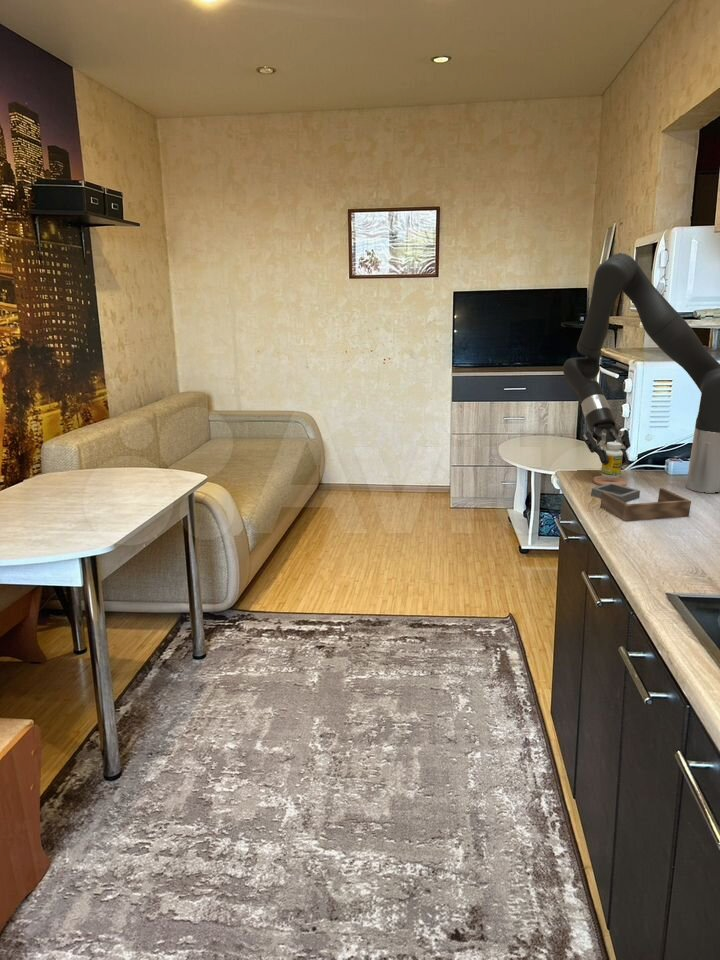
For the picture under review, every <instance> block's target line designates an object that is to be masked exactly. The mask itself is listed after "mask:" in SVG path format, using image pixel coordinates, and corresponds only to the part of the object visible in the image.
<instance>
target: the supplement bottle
mask: <svg viewBox="0 0 720 960" xmlns="http://www.w3.org/2000/svg"><path fill="white" fill-rule="evenodd" d="M605 446H606V449H605V448H604V451H606V454H607V456H608V459H609V463H608V464H607V465H603V463H601V469H600V470H601V471H600V474H601V476H605V477H610V478H617V477H621V473H622V466H623V464H622V458H623V452H622V451H621V450H620V449H621V446H622V444H621V443H618V442H616V441H615V442H607V444H606V445H605Z"/></svg>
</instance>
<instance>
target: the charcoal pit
mask: <svg viewBox="0 0 720 960" xmlns="http://www.w3.org/2000/svg"><path fill="white" fill-rule="evenodd" d="M602 492H606V493H608V494H610V495H612V496H614V497H616V498H618V499H619V500H621V501H623V502H625V503H627V502H630V501H631V502H632V501H634V500H636V499H639V498H640V494H641V490H639V489H635V488H632V487H628V486H621V485H617V484H613V483H608V484H605V485H601V486H599V485H597V486H596V487H592V488H591V492H590V493H591V494H590V496H593V497H595V496H596V498H598V497H599V498H600V499H601V496H602Z"/></svg>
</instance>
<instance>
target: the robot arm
mask: <svg viewBox="0 0 720 960" xmlns="http://www.w3.org/2000/svg"><path fill="white" fill-rule="evenodd" d="M594 274H595V276H594V279H593V286H592V292H591V299H590V303H589V307H588V311H587V315H586V318H585V322H584V323H583V327H582V330H581V333H580V336H579V339H578V341H577V345H576V349H577V352H578V353H579V354H580V355H582V356H584V357H571V358H568V359H566V361H565V362H564V363H563V366H562V367H563V368H562V371H563V372H562V373H563V376H564V377H565V379H566V381H567V383H568V384H569V385H570V387H571V388H572V389H573V391H574V392H575V393H576V395H577V397H578V399H579V403H580V405H581V410H582V414H583V416H584V419H585V423H586V425H587V427H588V430H589V431H588V430H587V431H586V432H585V433H584V434H583V435H582V439H583V441H584V443H585V445H586V446H587V448H588V450H589V452H590V453H592V454H593V453H596V454H597V455H598V457H599V460H600V463H601V464H602V463H603V465H607V464H608V463H609V459H608V456H607V454H606V451H604V450H605V446H606V445H607V442H618V443H621V444H622V446H621V449H620V450H621V451H622V452H623V458H622V465H625V464H627V463H628V460H629V457H628V454H627V451H628V449H629V448H630V447H631V442H630V441H631V440H630V436H629V430H628V429H624V430H619V428H617V426H616V421H615V417H614V415H613V412H612V410H611V407H610V405H609V402H608V400H607V399H606V397H605V394H604V392H603V387H602V386H601V384H600V383H599V381H597V380H594V379H595V378H596V377H598V375H599V372H600V368H601V367H600V366H601V354H602V348H603V346H604V343H605V341H606V337H607V335H608V330H609V326H610V315H611V312H612V309H613V306H614V305H615V302H616V301H617V299H618V297H619V295H620V294H621V292H622V293H624V295H626V296H627V298H628V299H629V300H630V301H631V302H632V304H633V305H634V307H635V310H636V311H637V314H638V317H639V320H640V322H641V325H642V327H643V330H644V331H645V333H646V334H647V335H648V337H650V339H651V340H652V341H653V342H654V344H655V345H656V346H657V347H658V348H659V349H660V350H661V351H662V352H663V353H665V355H667V357H669V358H670V359H671V360H672V361H673V362H675V363H676V364H678V365H679V366H680V367H681V368H682V369H683V370H684V371H685V372H686V373H687V375H688V376H689V377H690V378H691V380H692V381H693V383H694V384H695V385H696V386H697V388H698V389H699V391H700V400H699V401H700V402H699V406H698V412H697V416H696V419H695V420H696V421H695V426H694V431H693V438H692V443H691V444H692V445H691V453H690V457H689V464H688V465H689V466H688V472H687V477H686V483H685V484H686V485H685V487H686V488H687V489H689V490H692V491H695V492H698V493H704V492H705V493H704V494H716V493H715V492H719V493H720V362H719V361H717V360H716V359H715V358H714V356H712V355H711V354H710V352H708V350H707V349H706V348H705V346H704V345H703V343H702V341H701V340H700V338H699V337H698V335H697V334H696V333H695V332H694V330H693V328H692V327H691V326H690V325H689V323H688V322H687V321H686V320H685V319H684V318H683V316H681V314H680V313H679V312H678V311H677V310H676V309H675V308H674V307H673V306H672V305H671V304H670V303H669V302H668V300H667V299H666V298H665V297H664V296H663V294H662V293H661V292H659V290H657V288H656V287H655V286H654V284H653V283H652V282H651V280H650V279H649V277H648V276H647V275H646V273H645V272H644V270H643V269H642V268H641V266H640V264H639V263H637V261H636V260H635V259H634V258H633V257H632V256H630V255H629V254H626V253H622V252H620V253H619V252H618V253H616V254H613V255H612V256H610V257H608V259H606V260H605V261H603V262H602V263H601V264H600V265H599V266H598V267H597V269H596V271H595V273H594Z"/></svg>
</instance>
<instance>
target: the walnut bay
mask: <svg viewBox="0 0 720 960" xmlns="http://www.w3.org/2000/svg"><path fill="white" fill-rule="evenodd" d="M658 490H659V491H658V498H657V501H656V502H639V503H627V502H623V501H621V500H619V499H618V498H616V497H614V496H612V495H610V494H608V493H606V492H602V496H601V498H600V505H599V507H600V508H601V507H602V508H601V509H603V508H604V509H603V510H605V509H606V510H607V511H606V510H605V511H606V512H608V511H609V512H608V513H609V514H612V515H613V514H614V516H615V517H617V518H619V519H620V520H622V521H624V522H632V521H646V520H656V519H657V520H658V519H672V518H684V517H690V512H691V507H692V506H691V505H692V500H690V499H687V498H685V497H683V496H681V495H679V494H677V493H674V492H672V491H671V490H668V489H666V488H663V487H661V488H659V489H658Z"/></svg>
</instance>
